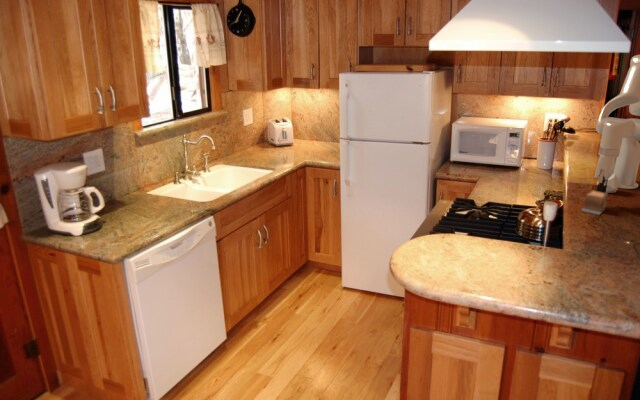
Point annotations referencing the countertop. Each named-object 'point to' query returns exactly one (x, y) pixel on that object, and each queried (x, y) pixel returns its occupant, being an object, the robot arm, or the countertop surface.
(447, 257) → the countertop surface
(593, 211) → the mat
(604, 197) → the block
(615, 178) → the die
